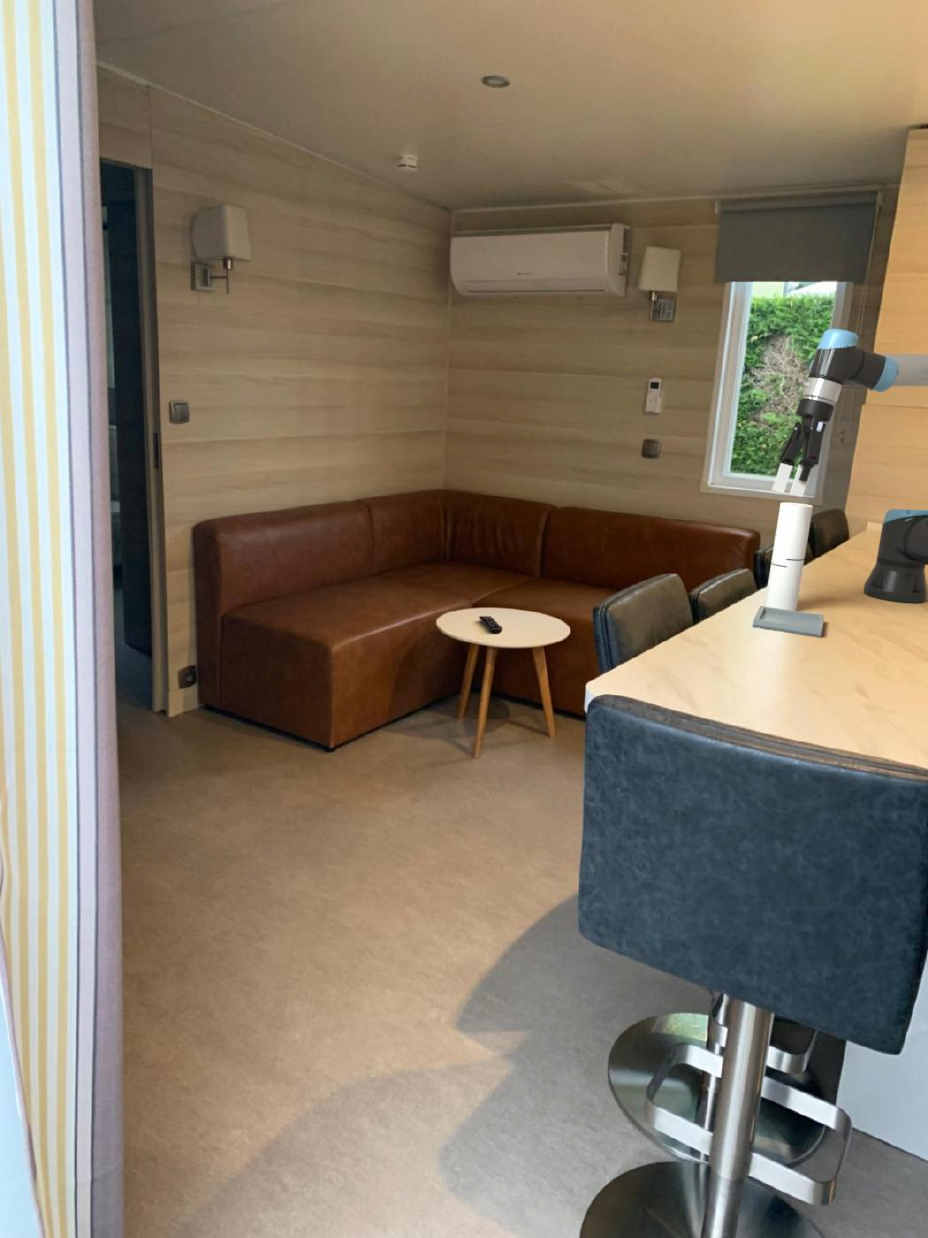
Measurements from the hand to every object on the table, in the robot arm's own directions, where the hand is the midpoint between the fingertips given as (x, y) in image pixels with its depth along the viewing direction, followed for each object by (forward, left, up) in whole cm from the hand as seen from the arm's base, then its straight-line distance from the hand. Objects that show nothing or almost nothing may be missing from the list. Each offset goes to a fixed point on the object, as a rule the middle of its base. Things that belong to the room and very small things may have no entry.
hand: (786, 493), depth 203 cm
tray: (-5, +12, -28) cm, 30 cm away
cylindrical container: (-2, -3, -28) cm, 28 cm away
